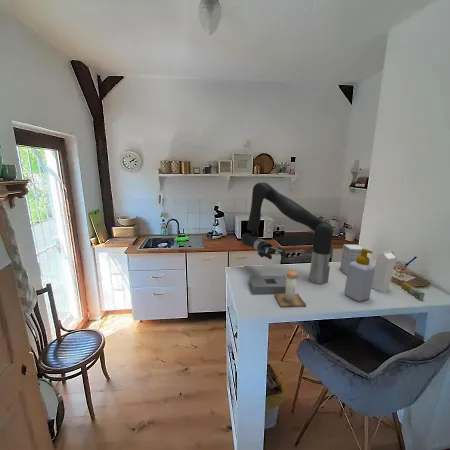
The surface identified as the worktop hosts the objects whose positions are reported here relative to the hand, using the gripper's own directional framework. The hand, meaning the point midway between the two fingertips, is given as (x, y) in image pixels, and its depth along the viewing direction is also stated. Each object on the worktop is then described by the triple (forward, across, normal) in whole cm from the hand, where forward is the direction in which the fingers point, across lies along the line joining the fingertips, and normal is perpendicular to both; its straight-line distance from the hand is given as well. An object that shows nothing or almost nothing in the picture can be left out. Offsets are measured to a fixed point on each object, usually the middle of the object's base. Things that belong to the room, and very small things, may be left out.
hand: (278, 256), depth 127 cm
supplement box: (-4, +55, +19) cm, 59 cm away
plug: (+13, -1, +17) cm, 21 cm away
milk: (+18, +54, +19) cm, 60 cm away
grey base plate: (-1, -3, +18) cm, 18 cm away
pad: (+13, -1, +18) cm, 22 cm away
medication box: (+27, +65, +20) cm, 73 cm away
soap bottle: (+20, +34, +19) cm, 44 cm away
